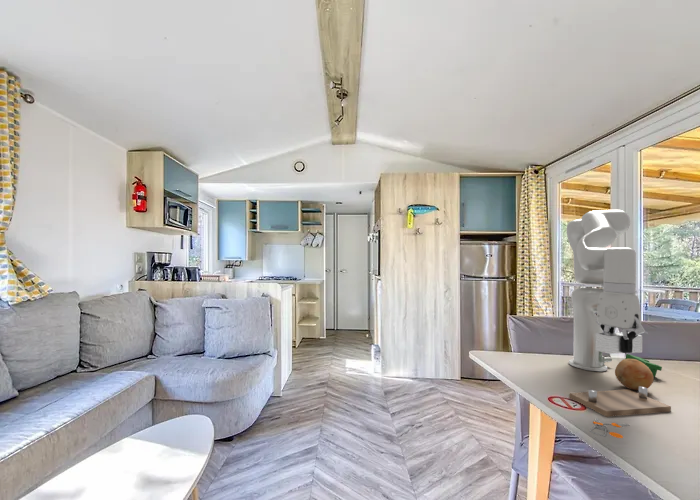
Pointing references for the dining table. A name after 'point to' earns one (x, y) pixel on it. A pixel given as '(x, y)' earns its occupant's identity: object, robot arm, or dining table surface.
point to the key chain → (600, 425)
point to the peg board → (620, 402)
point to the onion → (633, 374)
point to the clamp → (650, 365)
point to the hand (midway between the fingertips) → (618, 349)
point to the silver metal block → (615, 343)
